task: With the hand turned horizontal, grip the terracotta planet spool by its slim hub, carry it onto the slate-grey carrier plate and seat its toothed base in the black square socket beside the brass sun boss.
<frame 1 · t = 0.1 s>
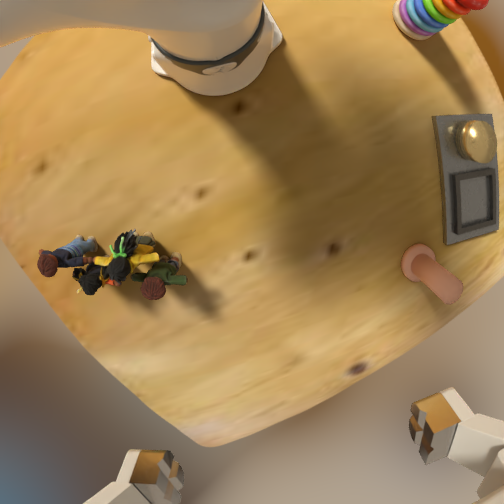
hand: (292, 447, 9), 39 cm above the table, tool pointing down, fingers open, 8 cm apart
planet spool: (416, 261, 49), on the table
stacking toy: (410, 20, 35), on the table
carrier plate: (469, 176, 44), on the table
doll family: (122, 247, 47), on the table
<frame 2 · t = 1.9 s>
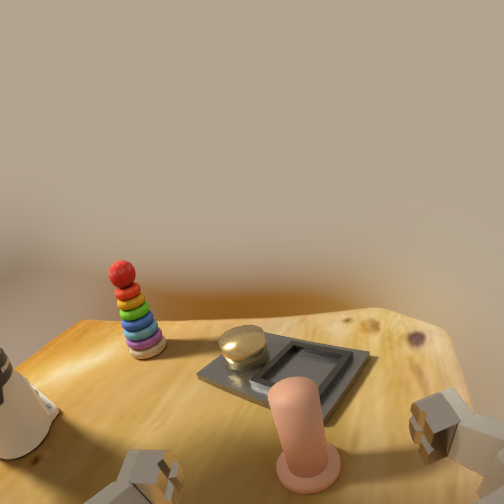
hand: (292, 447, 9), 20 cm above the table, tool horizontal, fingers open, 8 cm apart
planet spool: (309, 470, 26), on the table
stacking toy: (149, 350, 58), on the table
carrier plate: (281, 372, 43), on the table
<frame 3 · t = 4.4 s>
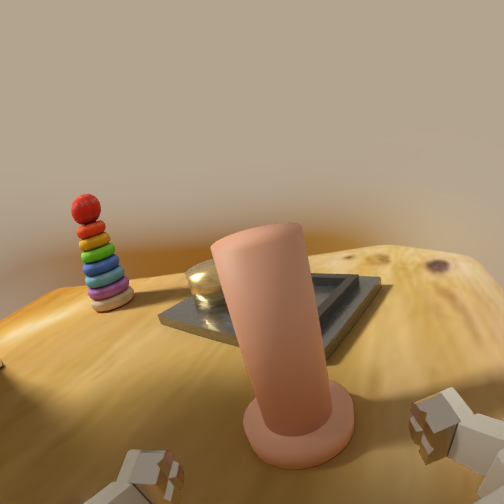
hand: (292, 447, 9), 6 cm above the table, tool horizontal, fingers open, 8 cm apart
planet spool: (301, 428, 17), on the table
stacking toy: (114, 304, 49), on the table
carrier plate: (265, 309, 34), on the table
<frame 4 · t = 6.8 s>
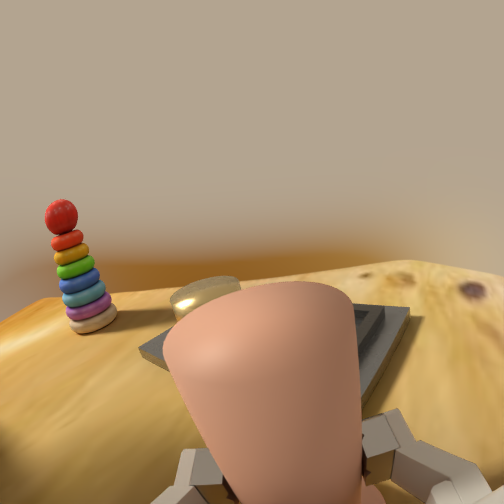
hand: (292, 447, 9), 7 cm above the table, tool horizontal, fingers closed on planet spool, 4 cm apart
stacking toy: (96, 324, 42), on the table
carrier plate: (267, 346, 27), on the table
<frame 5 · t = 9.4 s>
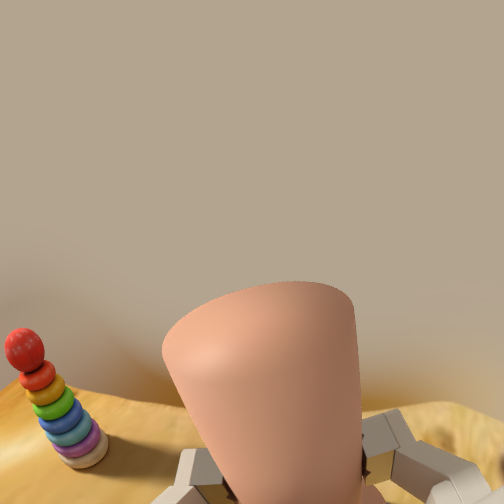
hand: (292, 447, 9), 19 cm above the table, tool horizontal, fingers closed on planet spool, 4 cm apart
stacking toy: (87, 451, 31), on the table
when the fingers open (10 cm above the table, at t = 12.1 s): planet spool drops 2 cm, resting on carrier plate.
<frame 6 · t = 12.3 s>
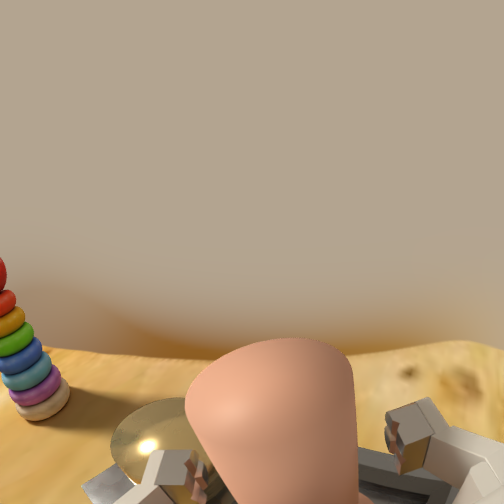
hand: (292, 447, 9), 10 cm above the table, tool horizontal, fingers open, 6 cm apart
stacking toy: (47, 405, 27), on the table
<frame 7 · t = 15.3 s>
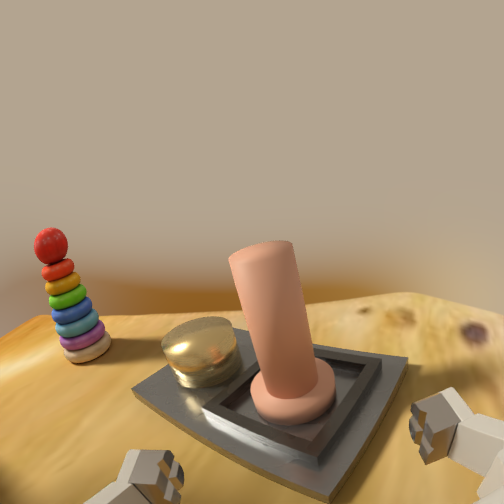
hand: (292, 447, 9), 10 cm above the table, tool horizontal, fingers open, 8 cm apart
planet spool: (295, 395, 22), point 1 cm above the table, touching carrier plate
stacking toy: (90, 352, 40), on the table
carrier plate: (260, 393, 25), on the table
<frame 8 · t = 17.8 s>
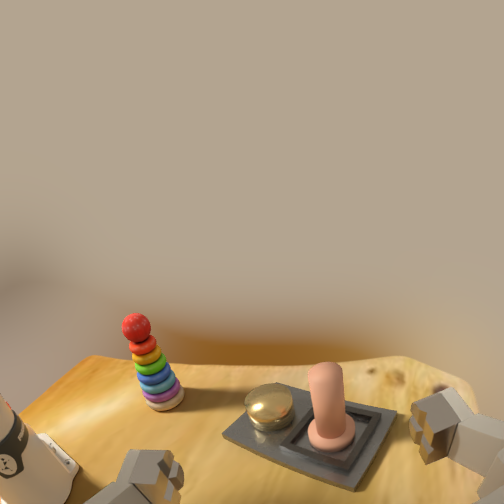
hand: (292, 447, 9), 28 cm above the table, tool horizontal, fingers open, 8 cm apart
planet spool: (332, 434, 36), point 1 cm above the table, touching carrier plate
stacking toy: (167, 400, 54), on the table
carrier plate: (309, 432, 39), on the table
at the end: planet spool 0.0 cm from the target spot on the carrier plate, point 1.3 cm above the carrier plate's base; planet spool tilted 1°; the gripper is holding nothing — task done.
